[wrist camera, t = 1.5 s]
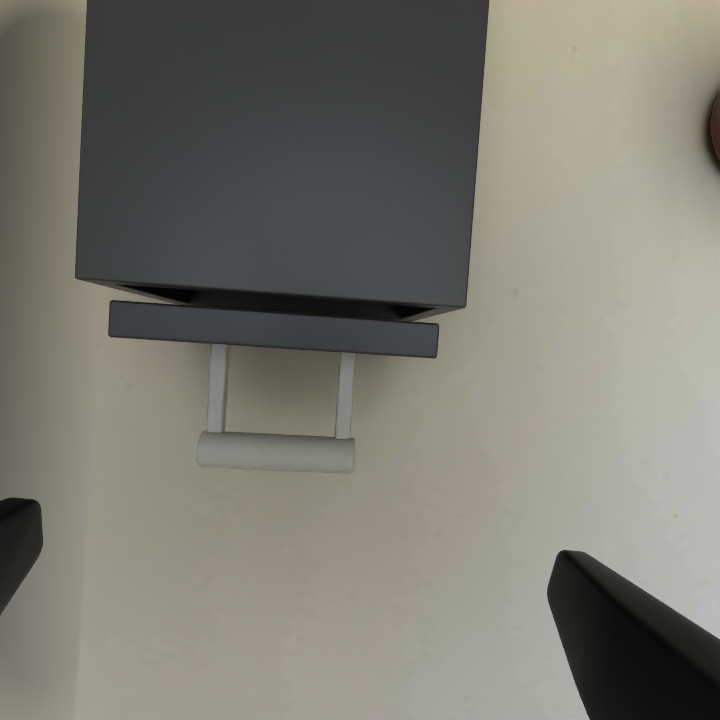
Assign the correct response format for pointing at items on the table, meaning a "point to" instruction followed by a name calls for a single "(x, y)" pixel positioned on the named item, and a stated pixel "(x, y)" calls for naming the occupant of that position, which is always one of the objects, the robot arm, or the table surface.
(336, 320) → the drawer
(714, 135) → the mug
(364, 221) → the cabinet
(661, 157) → the table surface
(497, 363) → the table surface
